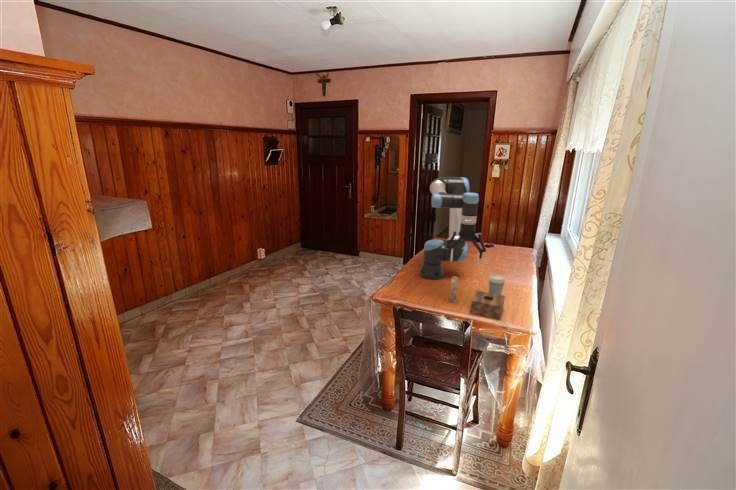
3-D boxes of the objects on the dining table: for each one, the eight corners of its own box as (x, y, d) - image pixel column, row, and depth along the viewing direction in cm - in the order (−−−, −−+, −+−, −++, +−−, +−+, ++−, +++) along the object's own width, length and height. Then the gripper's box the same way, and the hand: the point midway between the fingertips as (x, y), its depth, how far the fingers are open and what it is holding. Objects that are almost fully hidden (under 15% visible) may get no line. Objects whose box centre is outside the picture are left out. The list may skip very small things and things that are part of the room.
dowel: (449, 301, 180) (451, 277, 176) (450, 299, 183) (453, 275, 179) (455, 303, 179) (457, 278, 175) (456, 300, 181) (458, 276, 177)
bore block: (470, 313, 168) (471, 300, 166) (475, 302, 180) (476, 290, 178) (499, 319, 162) (501, 306, 160) (503, 308, 174) (504, 295, 172)
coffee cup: (498, 293, 191) (501, 274, 188) (505, 300, 183) (508, 280, 179) (484, 293, 191) (486, 274, 187) (489, 300, 182) (492, 280, 179)
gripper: (442, 222, 172) (439, 261, 178) (493, 227, 164) (488, 267, 169) (444, 219, 179) (441, 257, 185) (494, 224, 170) (489, 263, 176)
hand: (464, 262), depth 177 cm, fingers open, 13 cm apart
